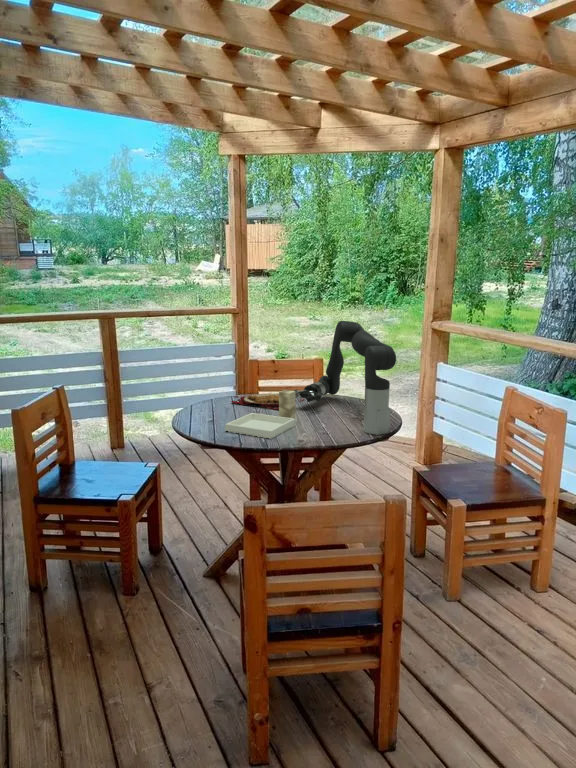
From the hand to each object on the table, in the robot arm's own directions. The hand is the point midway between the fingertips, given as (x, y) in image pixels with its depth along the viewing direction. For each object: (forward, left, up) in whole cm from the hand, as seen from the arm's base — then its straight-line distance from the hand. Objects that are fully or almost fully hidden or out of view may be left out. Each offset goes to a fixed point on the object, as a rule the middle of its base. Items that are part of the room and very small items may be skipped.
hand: (299, 398), depth 237 cm
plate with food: (+26, 0, -8) cm, 27 cm away
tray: (-12, +26, -7) cm, 29 cm away
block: (-6, +10, -7) cm, 13 cm away
